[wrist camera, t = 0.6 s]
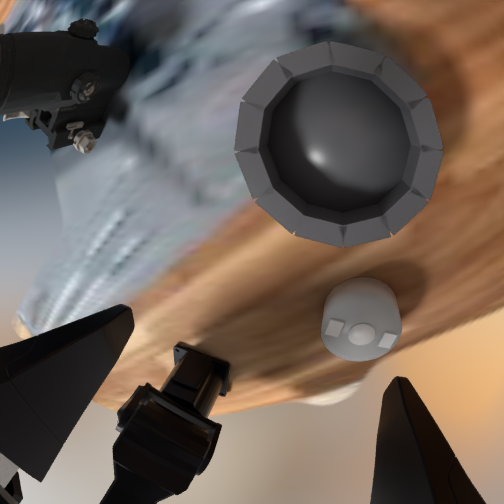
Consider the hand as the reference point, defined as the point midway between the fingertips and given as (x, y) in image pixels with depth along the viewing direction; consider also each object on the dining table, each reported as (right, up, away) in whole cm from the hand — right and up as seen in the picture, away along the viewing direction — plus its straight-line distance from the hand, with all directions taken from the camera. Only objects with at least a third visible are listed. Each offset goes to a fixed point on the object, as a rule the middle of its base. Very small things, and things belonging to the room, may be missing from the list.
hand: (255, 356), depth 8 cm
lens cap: (+9, -1, +13) cm, 16 cm away
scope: (-12, +18, +10) cm, 24 cm away
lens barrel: (+5, +10, +8) cm, 14 cm away
